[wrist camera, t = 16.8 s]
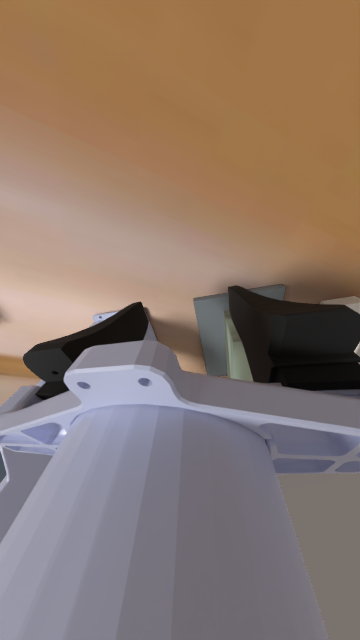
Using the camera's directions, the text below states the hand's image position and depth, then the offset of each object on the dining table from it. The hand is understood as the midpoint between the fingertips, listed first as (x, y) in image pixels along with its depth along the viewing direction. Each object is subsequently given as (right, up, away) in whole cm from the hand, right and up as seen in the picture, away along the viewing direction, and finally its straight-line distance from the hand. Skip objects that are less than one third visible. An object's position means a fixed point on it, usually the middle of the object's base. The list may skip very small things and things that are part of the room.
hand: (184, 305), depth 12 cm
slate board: (+9, -4, +14) cm, 17 cm away
